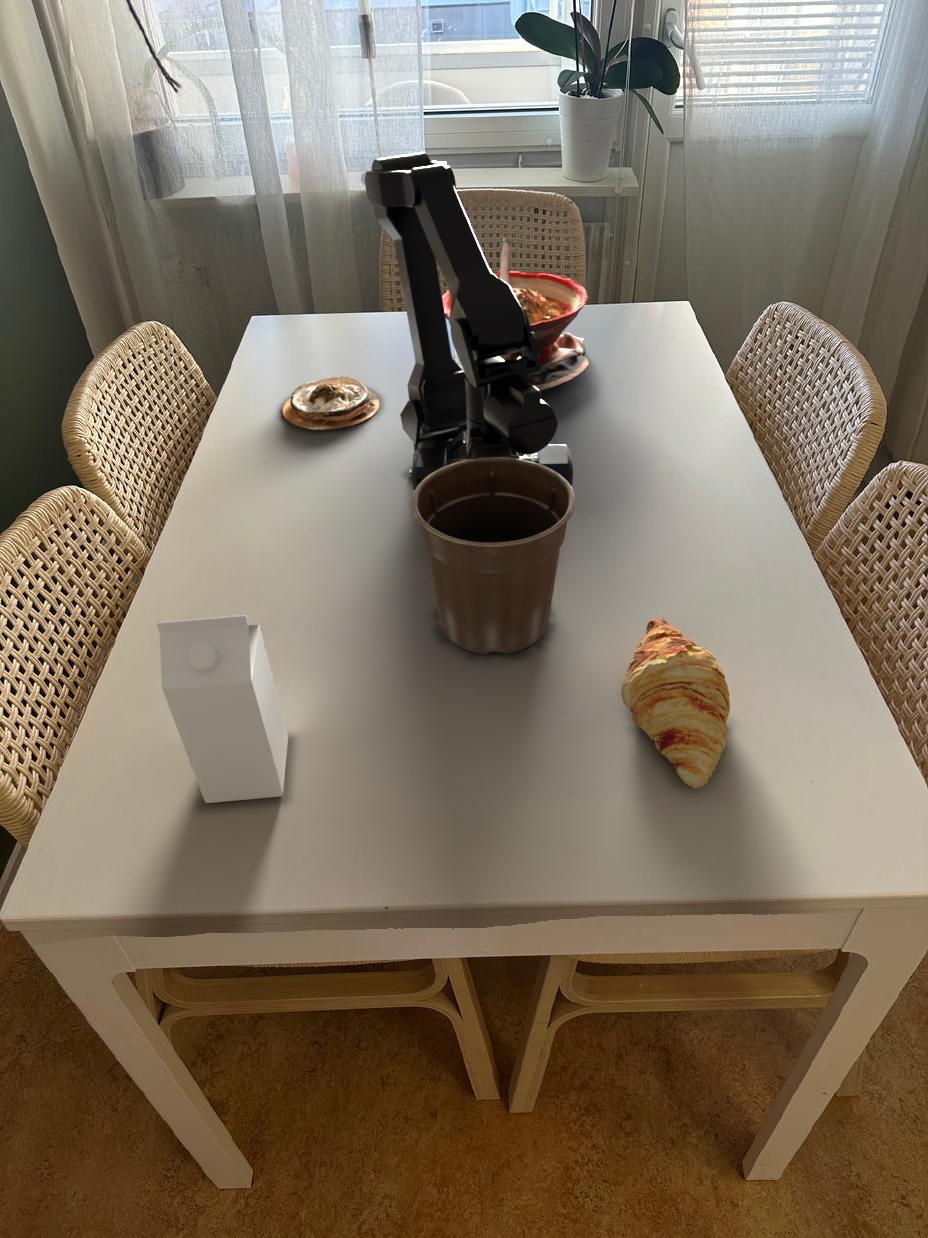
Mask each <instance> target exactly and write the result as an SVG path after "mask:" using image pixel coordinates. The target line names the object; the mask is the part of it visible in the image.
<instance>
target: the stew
mask: <svg viewBox="0 0 928 1238" xmlns="http://www.w3.org/2000/svg"><path fill="white" fill-rule="evenodd" d="M511 244H512V241H511V240H507V239H505V238H503V244H502V251H501V254H500V269H499V271H495V273H492V274H493V275H495V276H496V277H498V278H499V279H501V280H502V281H504V282H505V283H507V284H508V285H509V286H510V287H511V289H512V291H513V292H514V294H515V296H516V298H517V300H518V301H519V303H520V305H521V307H523V309H524V310H525V312H526V314H527V317H528V319H529V322H530V325H531V327H532V330H533V333H534V336H535V338H536V341H537V344H538V347H539V350H540V352H541V354H540V356H539V357H538V358H539V361H540V365H541V372H540V373H535V374H531V375H529V380H528V382H529V384H530V385H532V386H535V387H536V388H537V389H538V390H539V391H543V390H546V389H550V388H554V387H557V386H559V385H561V384H563V383H566V382H568V381H570V380H573V379H574V378H575V377H577V376H578V375H580V374H581V373H582V372H583V371H584V370H585V369H586V368H587V367H588V365H589V364H590V362H589V360H588V357H587V353H586V345H585V343H584V341H585V338H582V337H577V336H575V335H573V334H571V333H570V332H565V333H563V332H564V331H565V330H566V329H567V328H568V326H570V324H571V323H572V322H573V321H574V320H575V319H576V318H577V317H578V315H579V313H580V311H581V310H582V309H583V308H584V307H585V305H586V303H587V302H588V292H587V290H586V289H585V287H584V286H582V285H581V284H580V283H579V282H578V281H576V280H575V279H573V278H569V277H567V276H566V275H561V274H554V273H548V272H545V271H525V272H523V271H511V270H510V257H511V252H510V250H511ZM442 298H443V305H444V311H445V317H446V321H448V322H449V316H450V311H451V306H452V299H451V296H450V293H449V290H448V289H447V290H446V291H445V293H444V294H442ZM562 333H563V334H562ZM457 357H458V355H457V353H456V350H455V349H454V353H453V359H454V360H455V362H456V363H457V364H458V365H459V366H460V368H461V369H462V370H463V371H464V369H463V367H462V364H461V363H460V361H458V360H457ZM499 357H501V358H502V359H503V360H510V359H514V358H518V357H523V354H522V352H521V350H520V351H519V352H516V353H512V354H507V355H503V356H499Z"/></svg>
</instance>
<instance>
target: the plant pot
mask: <svg viewBox="0 0 928 1238" xmlns="http://www.w3.org/2000/svg"><path fill="white" fill-rule="evenodd" d="M412 494H413V495H412V499H411V509H412V513H413V516H414V518H415V520H416V521H417V523H418V525H419V529H420V534H421V539H422V543H423V544H424V547H425V548H426V549H427V554H428V560H429V566H430V571H431V577H432V582H433V588H434V594H435V599H436V607H437V611H438V619H439V624H440V628H441V630H442V632H443V634H444V635H445V636H446V637H447V639H448V640H450V641H451V642H452V643H453V644H455V645H456V646H458V647H460V648H462V649H464V650H466V651H468V652H471V653H475V654H480V655H486V656H487V655H489V654H491V653H501V654H503V655H509V654H513V653H514V654H515V653H516V652H520V651H522V650H523V651H524V650H525V649H527V648H529V647H531V646H533V645H534V644H535V643H536V642H537V641H539V640H540V639H541V638H542V637H543V635H544V634H545V633H546V631H547V629H548V628H549V625H550V617H551V610H552V603H553V602H552V601H553V595H554V589H555V582H556V578H557V577H556V576H557V570H558V564H559V560H560V553H561V547H562V545H563V544H564V542H565V539H566V534H567V527H568V521H570V519H571V517H572V515H573V513H574V510H575V505H576V496H575V495H576V494H575V491H574V490H573V487H572V486H570V484H569V483H568V482H567V481H566V480H565V479H564V478H563V477H562V476H561V475H560V474H558V473H557V472H555V471H554V470H552V469H550V468H548V467H546V466H543V465H540V464H537V463H534V462H530V461H526V460H521V459H515V458H505V457H484V458H476V459H469V460H465V461H461V462H457V463H453V464H451V465H448V466H445V467H443V468H441V469H439V470H437V471H435V472H433V473H432V474H430V475H429V476H427V477H426V478H425V479H424V480H423V481H422V482H421V483H420V484H419V485H418V486H417V488H416V490H413V493H412Z"/></svg>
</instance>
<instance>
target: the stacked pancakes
mask: <svg viewBox="0 0 928 1238" xmlns="http://www.w3.org/2000/svg"><path fill="white" fill-rule="evenodd" d="M379 408H380V400H379V398H378V396H377V395H376V394H375V393H374V392H373V391H371V390H369V389H368V388H367V387H366V386H365V385H364V384H363V383H362V382H360V380H357V379H356V378H353V377H351V376H346V375H345V376H344V375H339V376H331V377H324V378H321V379H319V380H314V381H309V382H306V383H302V384H301V385H299V386H296V387H294V389H293V391H292V392H291V395H290V397H289V398H288V400H286V401H285V403H284V405H283V407H282V414H283V417H284V418H285V419H286V420H287V421H288V422H289V423H290V424H292V425H294V426H297V427H300V428H304V429H308V430H314V431H315V430H318V431H319V430H320V431H321V430H322V431H325V430H337V429H342V428H349V427H352V426H354V425H356V424H361V422H362V423H363V422H364V421H366V420H368V419H369V418H371V417H372V416H373V415H375V414H376V413H377V411H378V409H379Z"/></svg>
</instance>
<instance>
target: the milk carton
mask: <svg viewBox="0 0 928 1238" xmlns="http://www.w3.org/2000/svg"><path fill="white" fill-rule="evenodd" d="M156 627H157V629H158V633H159V649H160V653H159V654H160V675H161V689H162V691H163V694H164V698H165V700H166V702H167V706H168V708H169V711H170V713H171V717H172V718H173V721H174V723H175V726H176V729H177V733H178V734H179V737H180V739H181V742H182V745H183V748H184V751H185V753H186V755H187V758H188V761H189V764H190V767H191V769H192V771H193V774H194V777H195V780H196V782H197V785H198V787H199V790H200V793H201V795H202V799H203V801H204V803H206V804H210V803H211V804H214V803H222V802H223V803H225V802H234V801H245V800H246V801H247V800H256V799H268V798H269V799H270V798H279V797H283V795H284V791H285V790H284V787H285V777H286V766H287V755H288V745H289V744H288V743H289V736H288V731H287V727H286V724H285V719H284V716H283V715H284V714H283V712H282V708H281V704H280V700H279V696H278V692H277V689H276V684H275V681H274V680H275V679H274V676H273V673H272V669H271V668H272V667H271V665H270V662H269V661H270V660H269V657H268V653H267V649H266V645H265V642H264V638H263V633H262V629H261V626H260V624H259V623H252V624H251V623H250V624H249V621H248V617H247V615H246V614H235V615H221V616H210V617H196V618H185V619H173V620H163V621H161V620H160V621H156Z"/></svg>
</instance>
